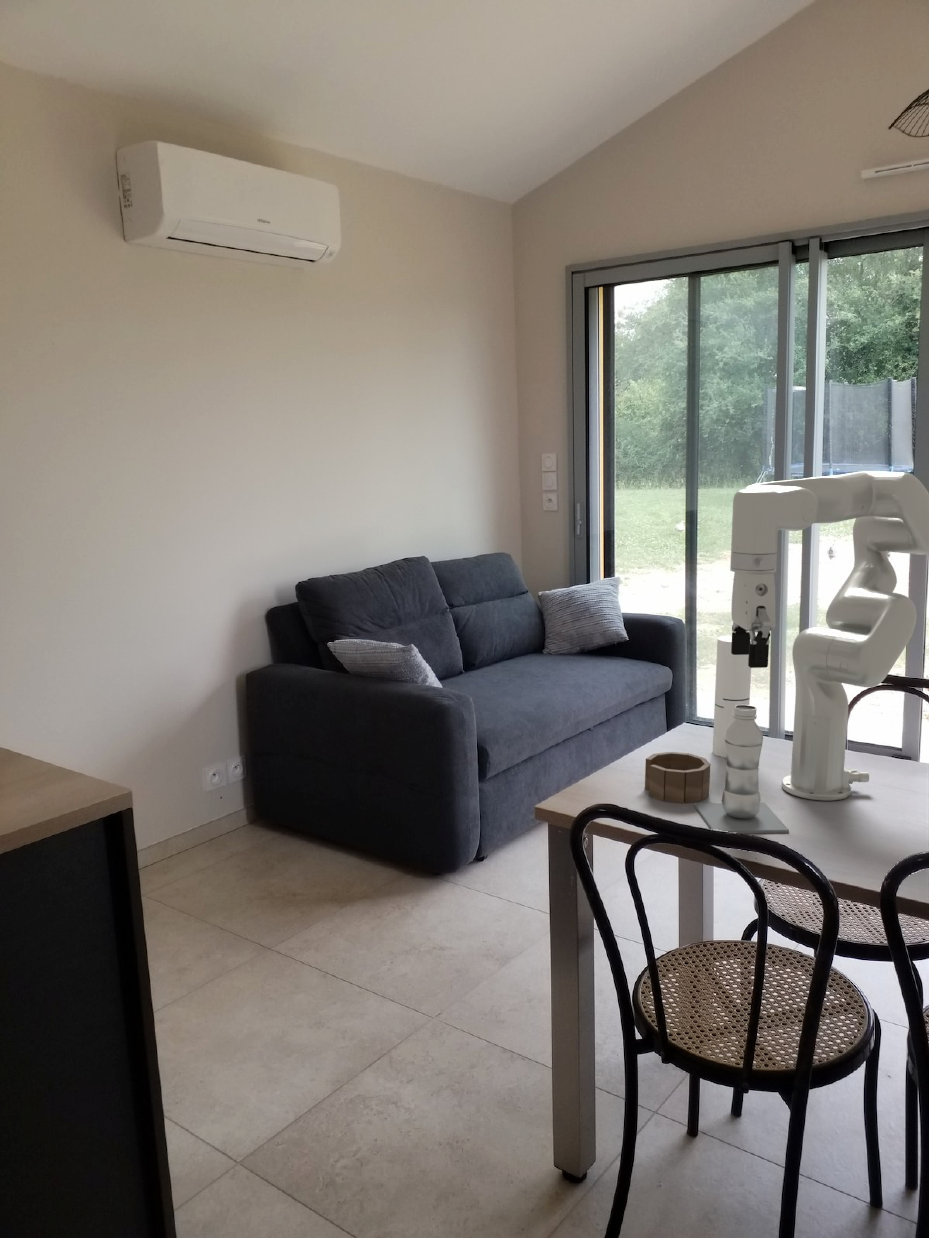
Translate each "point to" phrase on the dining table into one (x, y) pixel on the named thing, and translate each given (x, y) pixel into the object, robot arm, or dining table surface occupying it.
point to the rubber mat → (741, 820)
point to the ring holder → (677, 777)
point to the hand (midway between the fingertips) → (748, 660)
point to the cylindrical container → (728, 690)
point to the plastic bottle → (742, 764)
